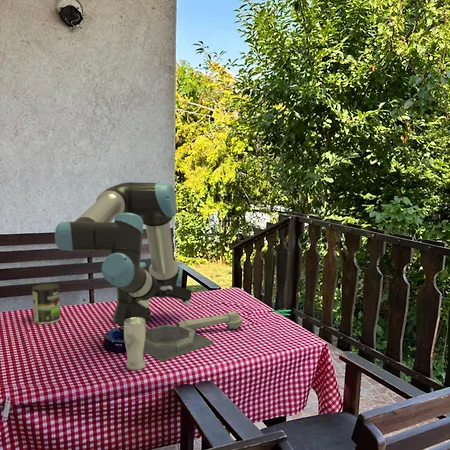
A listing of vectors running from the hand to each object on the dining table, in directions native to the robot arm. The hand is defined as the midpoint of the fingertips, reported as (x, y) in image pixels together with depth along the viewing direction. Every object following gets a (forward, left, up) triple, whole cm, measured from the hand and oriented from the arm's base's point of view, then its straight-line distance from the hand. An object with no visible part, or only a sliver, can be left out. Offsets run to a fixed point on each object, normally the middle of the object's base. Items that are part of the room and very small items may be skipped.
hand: (168, 302), depth 142 cm
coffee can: (-68, -12, -21) cm, 72 cm away
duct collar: (-15, +11, -21) cm, 28 cm away
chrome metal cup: (-7, -8, -21) cm, 23 cm away
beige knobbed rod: (-14, +29, -20) cm, 38 cm away
